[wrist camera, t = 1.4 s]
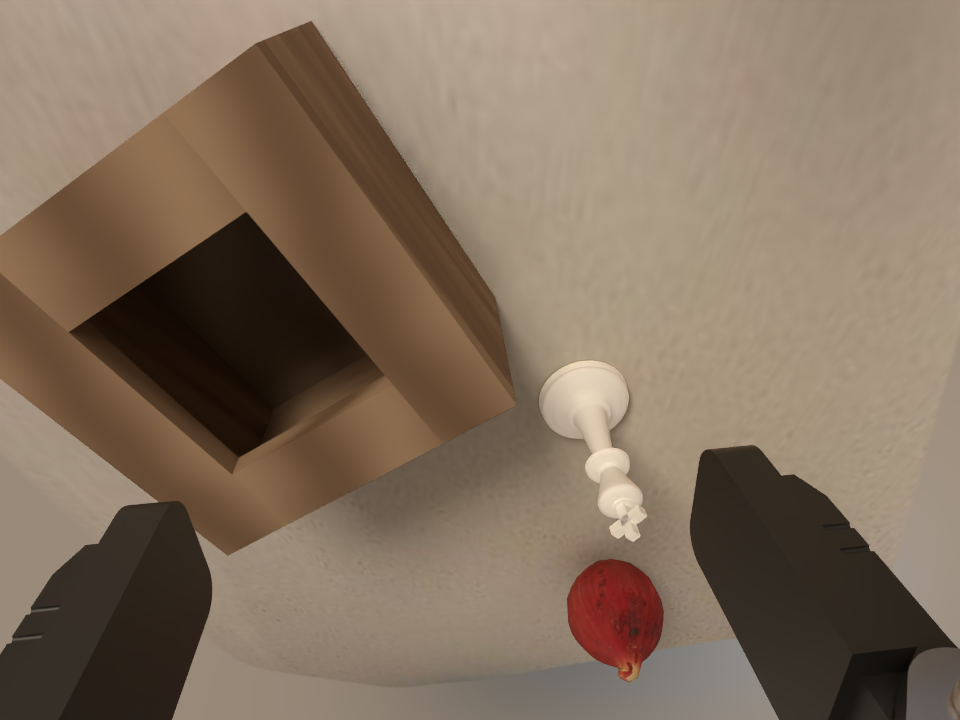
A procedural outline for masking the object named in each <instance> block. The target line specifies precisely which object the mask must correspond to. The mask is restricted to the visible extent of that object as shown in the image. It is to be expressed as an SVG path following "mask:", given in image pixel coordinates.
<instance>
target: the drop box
mask: <svg viewBox="0 0 960 720" xmlns="http://www.w3.org/2000/svg"><path fill="white" fill-rule="evenodd" d="M0 379H1V380H3V381H4V382H5V383H7V384H8V385H9V386H10V387H12V388H13V389H14V390H16V391H17V392H18V393H19V394H21V395H22V396H23V397H25V398H26V399H27V400H28V401H30V402H31V403H32V404H34V405H35V406H36V407H37V408H39V409H40V410H41V411H43V412H44V413H45V414H46V415H48V416H49V417H50V418H52V419H53V420H54V421H55V422H57V423H58V424H59V425H61V426H62V427H63V428H64V429H66V430H67V431H68V432H70V433H71V434H72V435H73V436H75V437H76V438H77V439H79V440H80V441H81V442H82V443H84V444H85V445H86V446H88V447H89V448H90V449H91V450H93V451H94V452H95V453H96V454H98V455H99V456H100V457H102V458H103V459H104V460H105V461H107V462H108V463H109V464H111V465H112V466H113V467H114V468H116V469H117V470H118V471H120V472H121V473H122V474H123V475H125V476H126V477H127V478H129V479H130V480H131V481H132V482H134V483H135V484H136V485H138V486H139V487H140V488H141V489H143V490H144V491H145V492H147V493H148V494H149V495H150V496H152V497H153V498H154V499H156V500H157V501H158V502H168V501H180V502H181V503H182V504H183V505H184V506H185V507H186V509H187V512H188V514H189V517H190V520H191V522H192V525H193V528H194V530H195V531H197V532H198V533H199V534H201V535H202V536H203V537H204V538H206V539H207V540H208V541H210V542H211V543H212V544H213V545H215V546H216V547H217V548H219V549H220V550H221V551H222V552H224V553H225V554H226V555H230V554H232V553H234V552H236V551H238V550H239V549H241V548H243V547H245V546H247V545H249V544H251V543H253V542H255V541H257V540H259V539H261V538H263V537H264V536H266V535H268V534H270V533H272V532H274V531H276V530H278V529H280V528H282V527H284V526H286V525H287V524H289V523H291V522H293V521H295V520H297V519H299V518H301V517H303V516H305V515H307V514H309V513H310V512H312V511H314V510H316V509H318V508H320V507H322V506H324V505H326V504H328V503H330V502H332V501H334V500H335V499H337V498H339V497H341V496H343V495H345V494H347V493H349V492H351V491H353V490H355V489H357V488H358V487H360V486H362V485H364V484H366V483H368V482H370V481H372V480H374V479H376V478H378V477H380V476H381V475H383V474H385V473H387V472H389V471H391V470H393V469H395V468H397V467H399V466H401V465H403V464H405V463H406V462H408V461H410V460H412V459H414V458H416V457H418V456H420V455H422V454H424V453H426V452H428V451H429V450H431V449H433V448H435V447H437V446H439V445H441V444H443V443H445V442H447V441H449V440H451V439H452V438H454V437H456V436H458V435H460V434H462V433H464V432H466V431H468V430H470V429H472V428H474V427H476V426H477V425H479V424H481V423H483V422H485V421H487V420H489V419H491V418H493V417H495V416H497V415H499V414H500V413H502V412H504V411H506V410H508V409H510V408H512V407H514V406H516V405H517V404H516V399H515V394H514V389H513V385H512V380H511V375H510V370H509V365H508V360H507V355H506V350H505V345H504V340H503V335H502V330H501V325H500V320H499V315H498V311H497V306H496V301H495V297H494V295H493V294H492V292H491V291H490V289H489V288H488V286H487V285H486V283H485V282H484V280H483V279H482V277H481V276H480V274H479V273H478V271H477V270H476V268H475V267H474V265H473V264H472V262H471V261H470V259H469V258H468V256H467V255H466V253H465V252H464V250H463V249H462V247H461V246H460V244H459V243H458V241H457V240H456V238H455V237H454V235H453V234H452V232H451V231H450V229H449V228H448V226H447V225H446V223H445V222H444V220H443V219H442V217H441V216H440V214H439V213H438V211H437V210H436V208H435V207H434V205H433V203H432V202H431V200H430V199H429V197H428V196H427V194H426V193H425V191H424V190H423V188H422V187H421V185H420V184H419V182H418V181H417V179H416V178H415V176H414V175H413V173H412V172H411V170H410V169H409V167H408V166H407V164H406V163H405V161H404V160H403V158H402V157H401V155H400V154H399V152H398V151H397V149H396V148H395V146H394V145H393V143H392V142H391V140H390V139H389V137H388V136H387V134H386V133H385V131H384V130H383V128H382V127H381V125H380V124H379V122H378V121H377V119H376V118H375V116H374V115H373V113H372V112H371V110H370V109H369V107H368V106H367V104H366V103H365V101H364V100H363V98H362V97H361V95H360V94H359V92H358V91H357V89H356V88H355V86H354V85H353V83H352V82H351V80H350V79H349V77H348V76H347V74H346V72H345V71H344V69H343V68H342V66H341V65H340V63H339V62H338V60H337V59H336V57H335V56H334V54H333V53H332V51H331V50H330V48H329V47H328V45H327V44H326V42H325V41H324V39H323V38H322V36H321V35H320V33H319V32H318V30H317V29H316V27H315V26H314V24H313V23H312V21H310V22H308V23H305V24H303V25H300V26H298V27H295V28H293V29H291V30H288V31H286V32H283V33H281V34H278V35H276V36H273V37H271V38H268V39H266V40H263V41H261V42H258V43H256V44H254V45H253V46H252V47H250V48H249V49H248V50H246V51H245V52H244V53H242V54H241V55H240V56H238V57H237V58H236V59H234V60H233V61H232V62H230V63H229V64H228V65H226V66H225V67H224V68H222V69H221V70H220V71H218V72H217V73H216V74H214V75H213V76H212V77H210V78H209V79H208V80H206V81H205V82H204V83H203V84H201V85H200V86H199V87H197V88H196V89H195V90H193V91H192V92H191V93H189V94H188V95H187V96H185V97H184V98H183V99H181V100H180V101H179V102H177V103H176V104H175V105H173V106H172V107H171V108H169V109H168V110H167V111H165V112H164V113H163V114H161V115H160V116H159V117H157V118H156V119H155V120H153V121H152V122H151V123H149V124H148V125H147V126H145V127H144V128H143V129H141V130H140V131H139V132H137V133H136V134H135V135H133V136H132V137H131V138H129V139H128V140H127V141H125V142H124V143H123V144H121V145H120V146H119V147H118V148H116V149H115V150H114V151H112V152H111V153H110V154H108V155H107V156H106V157H104V158H103V159H102V160H100V161H99V162H98V163H96V164H95V165H94V166H92V167H91V168H90V169H88V170H87V171H86V172H84V173H83V174H82V175H80V176H79V177H78V178H76V179H75V180H74V181H72V182H71V183H70V184H68V185H67V186H66V187H64V188H63V189H62V190H60V191H59V192H58V193H56V194H55V195H54V196H52V197H51V198H50V199H48V200H47V201H46V202H44V203H43V204H42V205H40V206H39V207H38V208H36V209H35V210H34V211H33V212H31V213H30V214H29V215H27V216H26V217H25V218H23V219H22V220H21V221H19V222H18V223H17V224H15V225H14V226H13V227H11V228H10V229H9V230H7V231H6V232H5V233H3V234H2V235H1V236H0Z"/></svg>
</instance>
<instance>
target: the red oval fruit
mask: <svg viewBox="0 0 960 720" xmlns="http://www.w3.org/2000/svg"><path fill="white" fill-rule="evenodd" d="M567 607H568V623H569V626H570V629H571V632H572V634H573V636H574V637H575V639H576V640H577V642H578V643H579V644H580V645H581V646H582V647H583V648H584V649H585V650H586V651H587V652H588V653H589V654H590V655H591V656H592V657H593V658H595V659H596V660H598V661H600V662H602V663H604V664H607V665H610V666H613V667H617V668H618V669H619V671H618V676H619V677H620V678H621V679H623V680H625V681H627V682H631V681H632V680H634V679H637V678H638V674H639V671H640V667H641V664H642V662H643V661H644V660H645V659H647V658H648V657H649V655H650V654H651V653H652V652H653V651H654V649H655V648H656V646H657V644H658V642H659V640H660V637H661V632H662V626H663V613H664V611H663V607H662V602H661V599H660V597H659V595H658V593H657V591H656V589H655V587H654V585H653V583H652V582H651V580H650V578H649V577H648V576H647V575H645V574H644V573H643V572H642V571H641V570H639V569H638V568H636V567H635V566H633V565H632V564H631V563H627V562H624V561H619V560H613V559H609V560H601V561H597V562H595V563H594V564H592V565H590V566H589V567H588V568H587V569H585V570H584V571H583V572H582V573H581V574H580V575H579V576H578V577H577V578H576V580H575V582H574V584H573V585H572V587H571V590H570V592H569V595H568V597H567Z"/></svg>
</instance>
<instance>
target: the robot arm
mask: <svg viewBox="0 0 960 720" xmlns="http://www.w3.org/2000/svg"><path fill="white" fill-rule="evenodd" d="M690 535H691V542H692V546H693V550H694V554H695V556H696V559H697V561H698V564H699V566H700V567H701V569H702V571H703V573H704V575H705V577H706V579H707V581H708V583H709V585H710V587H711V589H712V591H713V593H714V595H715V596H716V598H717V600H718V602H719V604H720V606H721V608H722V610H723V612H724V614H725V616H726V618H727V620H728V622H729V624H730V625H731V627H732V629H733V631H734V633H735V635H736V637H737V639H738V641H739V643H740V645H741V647H742V649H743V651H744V653H745V654H746V656H747V658H748V660H749V662H750V664H751V666H752V668H753V670H754V672H755V674H756V676H757V678H758V680H759V682H760V684H761V685H762V687H763V689H764V691H765V693H766V695H767V697H768V699H769V701H770V703H771V705H772V707H773V709H774V711H775V712H776V714H777V716H778V718H779V720H960V649H959V648H958V647H957V646H956V645H955V644H954V643H953V642H952V641H951V640H950V639H949V638H948V637H947V636H946V634H945V633H944V632H943V631H942V630H941V629H940V628H939V626H938V625H937V624H936V623H935V622H934V620H933V619H932V618H931V617H930V616H929V615H928V614H927V612H926V611H925V610H924V609H923V608H922V606H921V605H920V604H919V603H918V602H917V601H916V599H915V598H914V597H913V596H912V595H911V594H910V593H909V591H908V590H907V589H906V588H905V587H904V585H903V584H902V583H901V582H900V581H899V580H898V578H897V577H896V576H895V575H894V574H893V573H892V571H891V570H890V569H889V568H888V567H887V566H886V564H885V563H884V562H883V561H882V560H881V559H880V558H879V556H878V555H877V554H876V553H875V552H874V551H872V552H871V551H870V549H869V545H868V544H867V542H866V541H865V540H864V539H863V538H862V537H861V535H860V534H859V533H858V532H857V531H856V530H855V528H851V527H850V523H849V521H848V520H847V519H846V518H845V517H844V516H843V514H842V513H841V512H840V511H839V510H838V509H837V507H836V506H835V505H834V504H833V503H832V502H831V500H830V499H829V498H828V497H827V496H826V495H824V494H823V493H821V492H820V491H818V490H817V489H815V488H814V487H812V486H811V485H809V484H808V483H806V482H805V481H803V480H802V479H800V478H798V477H797V476H795V475H785V476H781V475H780V473H779V472H778V471H777V470H776V468H775V467H774V466H773V465H772V463H771V462H770V461H769V460H768V458H767V457H766V456H765V455H764V453H763V452H762V451H761V450H760V449H759V448H758V447H756V446H754V445H749V446H739V447H728V448H718V449H708V450H705V451H704V452H703V453H702V454H701V457H700V461H699V467H698V473H697V480H696V487H695V493H694V500H693V506H692V513H691V520H690ZM211 600H212V580H211V574H210V570H209V567H208V565H207V562H206V559H205V557H204V554H203V552H202V549H201V546H200V544H199V541H198V538H197V536H196V533H195V530H194V528H193V525H192V522H191V520H190V517H189V514H188V512H187V509H186V507H185V506H184V505H183V504H182V503H181V502H180V501H168V502H158V503H148V504H138V505H128V506H124V507H123V508H121V509H120V510H119V511H118V513H117V514H116V515H115V517H114V519H113V520H112V522H111V524H110V525H109V527H108V529H107V530H106V532H105V533H104V535H103V537H102V538H101V540H100V542H99V543H98V544H92V545H85V546H84V547H83V548H82V549H81V550H80V551H79V552H78V553H76V554H75V555H74V556H73V557H72V558H71V559H70V560H69V561H67V562H66V563H65V564H64V565H63V566H62V567H61V568H60V569H58V570H57V571H56V572H55V573H54V574H53V575H52V576H51V578H50V579H49V581H48V582H47V584H46V586H45V587H44V589H43V590H42V592H41V593H40V595H39V596H38V598H37V599H36V601H35V602H34V604H33V605H32V607H31V614H30V615H26V616H25V618H24V619H23V621H22V622H21V624H20V625H19V627H18V628H17V630H16V631H15V633H14V635H13V636H12V637H13V640H12V643H10V644H7V645H6V647H5V648H4V650H3V651H2V653H1V654H0V720H172V718H173V715H174V712H175V709H176V706H177V703H178V701H179V698H180V695H181V692H182V689H183V686H184V683H185V680H186V678H187V675H188V672H189V669H190V666H191V663H192V661H193V658H194V655H195V652H196V649H197V646H198V643H199V641H200V637H201V635H202V632H203V629H204V626H205V623H206V621H207V618H208V615H209V611H210V607H211Z"/></svg>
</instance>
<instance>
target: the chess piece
mask: <svg viewBox="0 0 960 720" xmlns="http://www.w3.org/2000/svg"><path fill="white" fill-rule="evenodd" d="M628 403H629V393H628V389H627V384H626V381H625V379H624V377H623V376H622V374H621V373H620V372H619V371H618V370H617V369H615V368H614V367H612V366H611V365H609V364H606V363H603V362H600V361H592V360H587V361H579V362H574V363H571V364H569V365H566V366H564V367H562V368H560V369H559V370H557V371H556V372H555V373H553V374H552V375H551V376H550V377H549V378H548V380H547V381H546V382H545V384H544V385H543V387H542V390H541V392H540V396H539V408H540V411H541V414H542V416H543V418H544V420H545V422H546V423H547V425H548V426H549V427H550V428H551V429H552V430H553V431H554V432H556V433H558V434H559V435H562V436H564V437H567V438H572V439H584V440H585V442H586V444H587V445H588V447H589V449H590V451H591V453H592V455H591V456H590V457H589V458H588V460H587V462H586V465H585V470H586V473H587V475H588V476H589V477H590V478H591V479H592V480H593V481H594V482H596V483H599V494H598V507H599V509H600V511H601V512H602V513H603V514H604V515H606V516H608V517H611V518H619V520H617V521H616V522H615V523H614V524H613V525H611V526H610V527H609V528H610V531H611V535H613V536H614V537H616V538H618V539H619V538H620V537H622V536H623V535H624V534H625V536H626V538H627V539H629V540H631V541H632V542H634V541H635V540H637V539H638V538H639V537H640V536H641V535H640V533H639V530H638V527H637V524H638V523H639V522H641V521H642V520H643V519H645V518H646V517H647V514H646V511H645V509H644V508H643V507H641V505H642V502H643V495H642V492H641V490H640V489H639V488H638V487H637V486H636V485H635V484H634V483H633V482H632V481H631V480H630V479H629V478H628V477H627V476H626V474H627V473H628V471H629V468H630V459H629V457H628V455H627V454H626V453H625V452H624V451H623V450H621V449H618V448H613V447H612V443H611V438H610V433H609V430H610V429H612V428H613V427H614V426H616V425H617V424H618V423H619V422H620V420H621V419H622V418H623V416H624V414H625V412H626V410H627V407H628Z"/></svg>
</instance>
